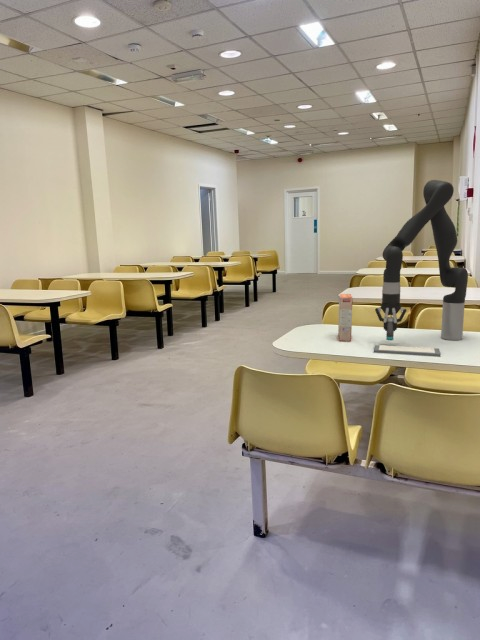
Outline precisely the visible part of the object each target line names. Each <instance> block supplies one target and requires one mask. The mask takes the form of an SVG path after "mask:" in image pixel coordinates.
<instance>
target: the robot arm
mask: <svg viewBox="0 0 480 640" xmlns="http://www.w3.org/2000/svg"><path fill="white" fill-rule="evenodd" d="M454 192H455V191H454V186H453V184H452V183H451V182H448V181H445V180H437V179H431V180H429V181H427V182H426V183H425V185H424V186H423V192H422V194H423V199H424V203H425V206H424V207H422V209H421V210H420V211H418V212H417V213H415V214H414V215H413V216H412V217H410V218H408V220H407V221H406V222H405V223H404V224H403V225H402V227H401V229H400V230H399V231H398V233H397V234H396V235H395V237H394V238H393V239H392V240H391V241H389V243H388V244H387V245H386V247H385V248H384V249H383V251H382V258H383V260H384V261H385V269H384V270H383V277H382V279H383V280H382V290H381V295H382V296H381V305H380V306H379V307H375V309H374V312H375V314H376V315H377V316H376V317H377V318H378V320H379V322H382V323H383V330H384V331H385V332H387V317H389V316H390V315H391V316H392V317H393V318H394V327H393V331H394V332H396V330H397V329H398V323H401V322H402V320H403V318H404V316H405V315H406V313H407V308H403V307H402V305H401V269H402V266H403V258H404V255H403V251H404V250H405V249H406V248H407V247H408V246H410V245H411V244H412V243H413V242H414V240H415V239H416V237H417V236H418V235H419V233H420V232H421V231H422V230H423V229H424V227H425V226H426V225H427V224H428V223H429V222H430V225H431V229H432V236H433V241H434V245H435V249H436V250H435V251H436V255H437V260H438V271H439V280H440V283H441V285H442V286H443V287H445V288H454V291H453V292H452V293H449V294H445V295H444V296H443V297H442V313H441V332H440V338H441V339H443V340H449V341H460V340H463V334H464V333H463V332H464V321H465V319H464V318H465V317H464V316H465V304H466V303H465V300H466V297H467V290H468V289H467V288H468V280H469V274H468V270H467V269H466V268H464V267H451V264H450V259H451V256H452V255H453V253H454V250H455V248H456V247H457V245H458V234H457V230H456V226H455V224H454V222H453V221H452V219H451V218H450V216H449V214H448V213H447V210H446V208H445V206H446V205H447V203H449V202H450V200H451V199H452V197H453V196H454ZM399 311H400V313H401V314H400V316H399V318H398V317H397V314H398V312H399ZM381 312H383V313H384V317H383V316H382V314H381Z"/></svg>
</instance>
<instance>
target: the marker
mask: <svg viewBox="0 0 480 640" xmlns="http://www.w3.org/2000/svg"><path fill="white" fill-rule="evenodd" d="M393 327H394V318H393V316H388V317H387V331H386V334H385V335H386V339H385V340H387V341H394V333H395V331H393Z"/></svg>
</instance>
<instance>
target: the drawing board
mask: <svg viewBox="0 0 480 640" xmlns="http://www.w3.org/2000/svg"><path fill="white" fill-rule="evenodd" d="M373 353H375V354H376V353H377V354H391V355H392V354H393V355H408V356H410V355H411V356H422V357H423V356H425V357H426V356H427V357H437V358H438V357H441V351H440V348H437V347H434V348H433V347H420V346H417V347H416V346H399V345H382V344H381V345H380V344H374V348H373Z"/></svg>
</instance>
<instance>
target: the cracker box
mask: <svg viewBox="0 0 480 640" xmlns="http://www.w3.org/2000/svg"><path fill="white" fill-rule="evenodd" d="M353 299H354V298H353V296H352V294H351V293H339V296H338V331H337V332H338V333H337V335H338V341H339V342H352V330H353V329H352V326H353V322H352V321H353Z"/></svg>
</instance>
